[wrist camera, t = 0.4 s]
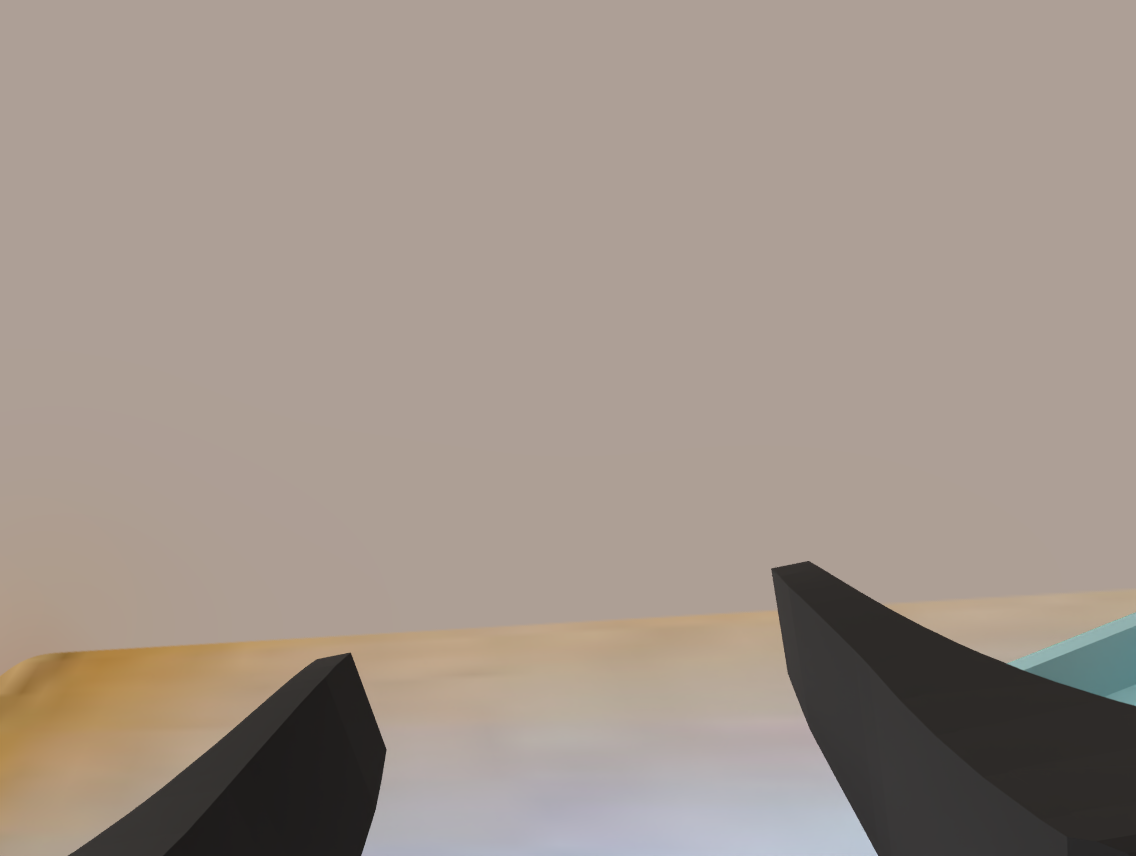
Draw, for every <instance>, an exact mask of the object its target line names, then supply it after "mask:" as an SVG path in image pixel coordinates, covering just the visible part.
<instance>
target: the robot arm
mask: <svg viewBox="0 0 1136 856" xmlns="http://www.w3.org/2000/svg"><path fill="white" fill-rule="evenodd" d="M771 570H772V576H773V582H774V588H775V595H776V601H777V608H778V614H779V620H780V627H781V633H782V639H783V645H784V652H785V658H786V664H787V670H788V675H789V677H790V680H791V683H792V685H793V688H794V690H795V693H796V696H797V698H798V701H799V703H800V706H801V708H802V711H803V713H804V716H805V718H806V721H807V723H808V726H809V728H810V730H811V732H812V734H813V736H814V738H815V740H816V742H817V743H818V745H819V747H820V749H821V751H822V753H823V755H824V757H825V758H826V760H827V762H828V764H829V766H830V768H831V770H832V771H833V773H834V775H835V777H836V779H837V781H838V782H839V784H840V786H841V788H842V790H843V792H844V794H845V795H846V797H847V799H848V801H849V803H850V805H851V806H852V808H853V810H854V812H855V814H856V816H857V817H858V819H859V821H860V823H861V825H862V827H863V828H864V830H865V832H866V834H867V836H868V838H869V840H870V841H871V843H872V845H873V847H874V849H875V851H876V852H877V854H878V856H1136V706H1134V705H1131V704H1127V703H1123V702H1120V701H1116V700H1113V699H1109V698H1106V697H1103V696H1100V695H1096V694H1093V693H1090V692H1087V691H1084V690H1080V689H1077V688H1074V687H1071V686H1068V685H1064V684H1061V683H1058V682H1055V681H1052V680H1049V679H1047V678H1044V677H1041V676H1038V675H1035V674H1032V673H1029V672H1027V671H1024V670H1022V669H1019V668H1017V667H1014V666H1011V665H1009V664H1006V663H1004V662H1001V661H999V660H996V659H994V658H991V657H989V656H986V655H984V654H981V653H979V652H976V651H974V650H972V649H970V648H967V647H965V646H963V645H960V644H958V643H956V642H954V641H952V640H950V639H948V638H946V637H944V636H942V635H940V634H937V633H935V632H933V631H931V630H929V629H927V628H925V627H923V626H921V625H919V624H917V623H915V622H913V621H911V620H909V619H908V618H906V617H904V616H902V615H900V614H898V613H896V612H894V611H893V610H891V609H889V608H887V607H885V606H884V605H882V604H880V603H878V602H877V601H875V600H873V599H871V598H870V597H868V596H866V595H864V594H863V593H861V592H859V591H858V590H856V589H854V588H853V587H851V586H849V585H848V584H846V583H844V582H843V581H841V580H839V579H838V578H836V577H834V576H833V575H831V574H830V573H828V572H826V571H825V570H823V569H821V568H820V567H818V566H816V565H814V564H813V563H811V562H809V561H807V562H802V563H797V564H792V565H787V566H782V567H777V568H772V569H771ZM385 755H386V747H385V744H384V742H383V739H382V736H381V733H380V731H379V728H378V725H377V723H376V720H375V717H374V714H373V712H372V709H371V706H370V704H369V701H368V698H367V695H366V693H365V690H364V687H363V685H362V682H361V679H360V676H359V674H358V671H357V668H356V666H355V663H354V660H353V658H352V655H351V653H346V654H341V655H336V656H331V657H326V658H321V659H317V660H315V661H314V662H312V663H311V664H310V665H308V666H307V667H305V668H304V669H303V670H302V671H300V672H299V673H298V674H297V675H295V676H294V677H293V678H292V679H290V680H289V681H288V682H287V683H286V684H285V685H283V686H282V687H281V688H280V689H279V690H278V691H276V692H275V693H274V694H273V695H272V696H271V697H269V698H268V699H267V700H266V701H265V702H264V703H263V704H261V705H260V706H259V707H258V708H257V709H256V710H255V711H253V712H252V713H251V714H250V715H249V716H248V717H246V718H245V719H244V720H243V721H242V722H241V723H240V724H238V725H237V726H236V727H235V728H234V729H233V730H232V731H230V732H229V733H228V734H227V735H226V736H225V737H223V738H222V739H221V740H220V741H219V742H218V743H216V744H215V745H214V746H213V747H212V748H210V749H209V750H208V751H207V752H206V753H204V754H203V755H202V756H201V757H199V758H198V759H197V760H196V761H195V762H193V763H192V764H191V765H190V766H188V767H187V768H186V769H185V770H184V771H182V772H181V773H180V774H179V775H177V776H176V777H175V778H174V779H173V780H171V781H170V782H169V783H168V784H166V785H165V786H164V787H163V788H162V789H160V790H159V791H158V792H156V793H155V794H154V795H152V796H151V797H150V798H149V799H147V800H146V801H145V802H143V803H142V804H141V805H139V806H138V807H137V808H135V809H134V810H133V811H131V812H130V813H129V814H127V815H126V816H124V817H123V818H122V819H120V820H119V821H117V822H116V823H115V824H113V825H112V826H110V827H109V828H108V829H106V830H105V831H103V832H102V833H101V834H99V835H98V836H96V837H95V838H94V839H92V840H91V841H89V842H88V843H86V844H85V845H83V846H82V847H80V848H79V849H77V850H76V851H75V852H73V853H71V854H70V855H68V856H361V854H362V851H363V848H364V845H365V842H366V839H367V836H368V832H369V829H370V826H371V823H372V820H373V816H374V813H375V810H376V805H377V800H378V795H379V790H380V785H381V780H382V774H383V768H384V762H385Z"/></svg>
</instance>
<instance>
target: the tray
mask: <svg viewBox="0 0 1136 856" xmlns="http://www.w3.org/2000/svg"><path fill="white" fill-rule="evenodd" d="M1007 664H1009V665H1011V666H1014V667H1017V668H1019V669H1022V670H1024V671H1027V672H1029V673H1032V674H1035V675H1038V676H1041V677H1044V678H1047V679H1049V680H1052V681H1055V682H1058V683H1061V684H1064V685H1068V686H1071V687H1074V688H1077V689H1080V690H1084V691H1087V692H1090V693H1093V694H1096V695H1100V696H1103V697H1106V698H1109V699H1113V700H1116V701H1120V702H1123V703H1127V704H1131V705H1134V706H1136V612H1135V613H1133V614H1130V615H1128V616H1125V617H1123V618H1120V619H1118V620H1115V621H1113V622H1110V623H1108V624H1105V625H1103V626H1100V627H1098V628H1095V629H1093V630H1090V631H1088V632H1085V633H1083V634H1080V635H1078V636H1075V637H1073V638H1070V639H1068V640H1065V641H1062V642H1060V643H1057V644H1055V645H1052V646H1050V647H1047V648H1045V649H1042V650H1040V651H1037V652H1035V653H1032V654H1030V655H1027V656H1025V657H1022V658H1020V659H1017V660H1015V661H1012V662H1010V663H1007Z"/></svg>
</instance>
